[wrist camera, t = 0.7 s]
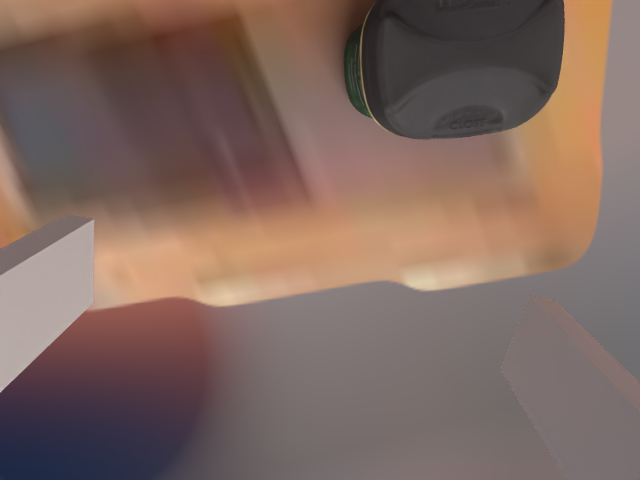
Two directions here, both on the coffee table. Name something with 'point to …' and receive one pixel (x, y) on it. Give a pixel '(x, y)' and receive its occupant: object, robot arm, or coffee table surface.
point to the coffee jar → (454, 64)
